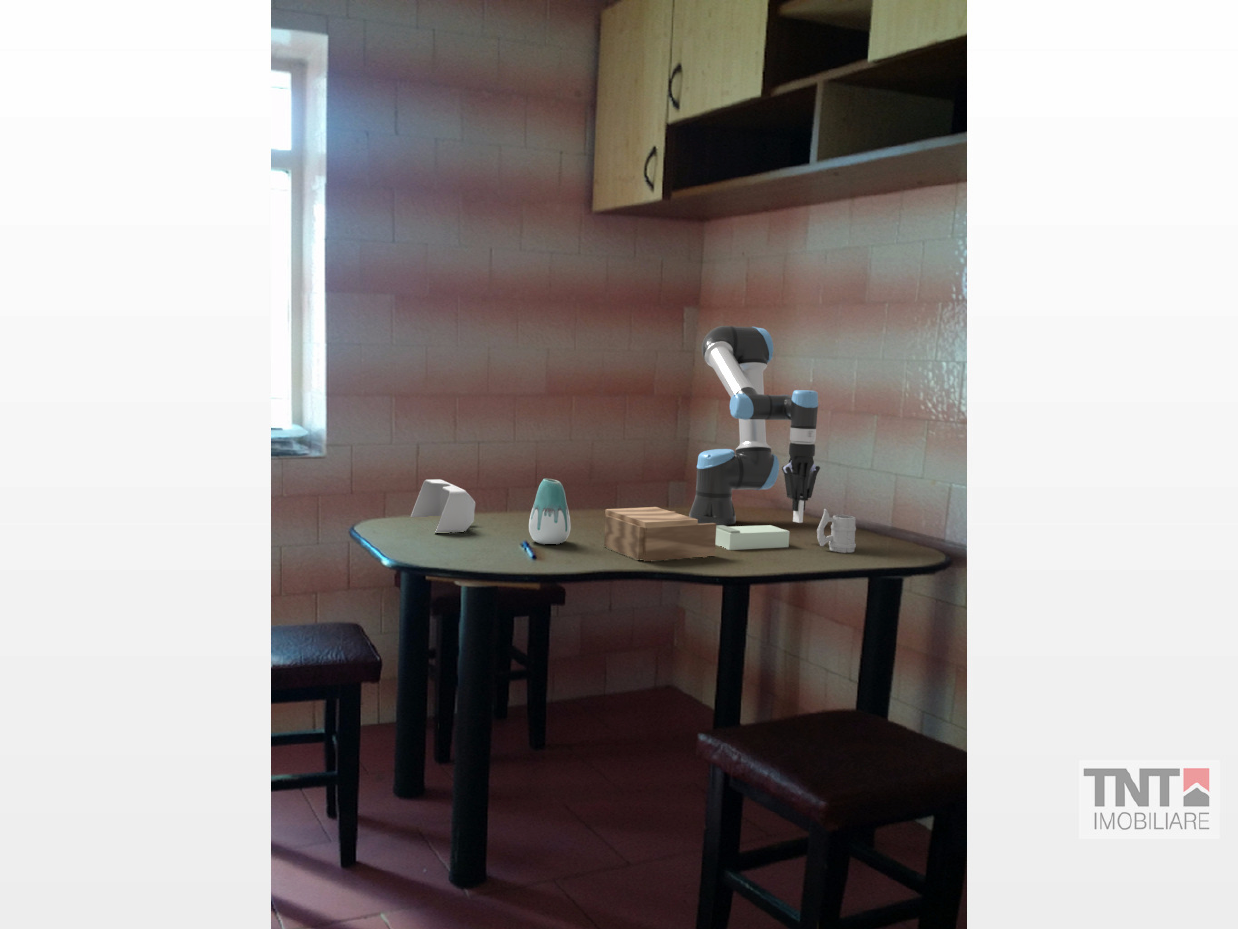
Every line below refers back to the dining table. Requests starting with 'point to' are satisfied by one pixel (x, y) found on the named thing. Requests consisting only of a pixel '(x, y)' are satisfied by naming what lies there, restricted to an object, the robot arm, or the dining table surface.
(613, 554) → the dining table surface
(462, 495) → the white angular cover
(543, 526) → the vase
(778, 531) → the pale green block
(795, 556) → the dining table surface
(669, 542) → the wooden box
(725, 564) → the dining table surface
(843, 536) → the mug
